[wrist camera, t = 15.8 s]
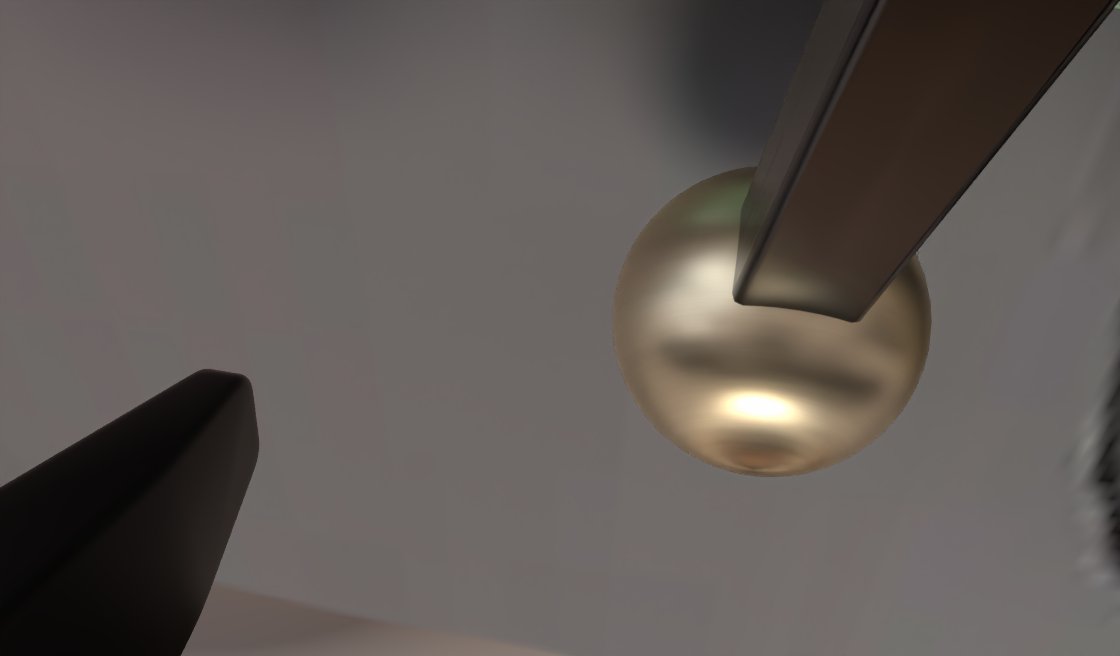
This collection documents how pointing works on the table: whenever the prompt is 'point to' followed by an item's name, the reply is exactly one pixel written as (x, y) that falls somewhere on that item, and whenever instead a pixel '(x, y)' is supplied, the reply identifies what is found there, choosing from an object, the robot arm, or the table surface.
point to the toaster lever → (830, 232)
